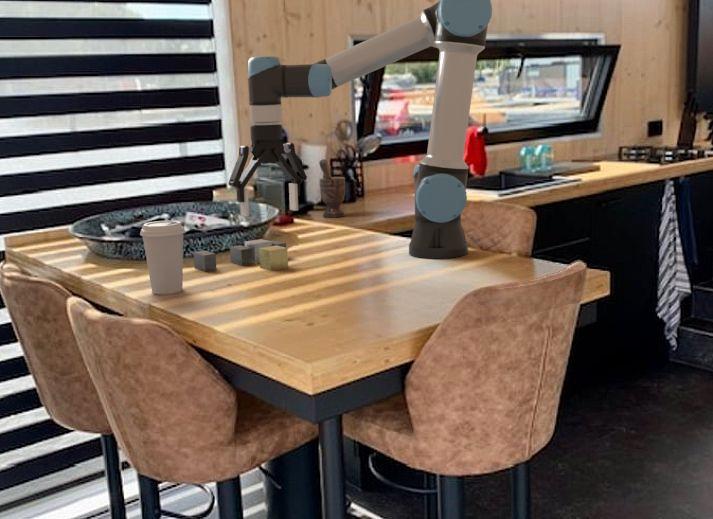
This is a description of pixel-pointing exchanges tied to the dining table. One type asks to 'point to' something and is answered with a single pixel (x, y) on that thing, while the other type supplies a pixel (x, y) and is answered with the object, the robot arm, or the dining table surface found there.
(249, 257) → the dark grey cubes
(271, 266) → the yellow cube
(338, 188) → the mortar and pestle
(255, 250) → the light gray cube
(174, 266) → the coffee cup
